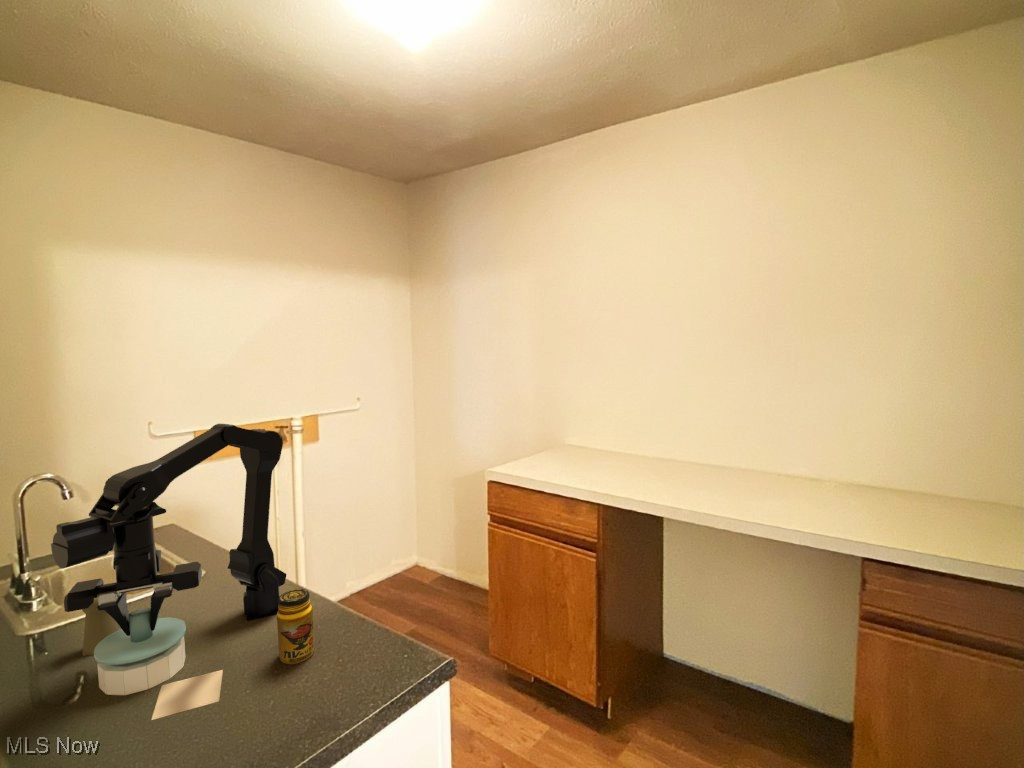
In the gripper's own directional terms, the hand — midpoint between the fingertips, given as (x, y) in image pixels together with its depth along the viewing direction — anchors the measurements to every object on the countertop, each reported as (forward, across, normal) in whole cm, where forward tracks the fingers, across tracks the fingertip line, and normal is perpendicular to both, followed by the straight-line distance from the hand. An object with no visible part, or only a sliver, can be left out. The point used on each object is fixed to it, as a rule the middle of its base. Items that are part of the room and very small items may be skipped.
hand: (141, 632), depth 90 cm
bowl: (+8, 0, 0) cm, 8 cm away
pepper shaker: (+8, +9, -14) cm, 18 cm away
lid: (+2, 0, 0) cm, 2 cm away
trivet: (+8, -8, +10) cm, 15 cm away
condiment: (+8, -24, +6) cm, 26 cm away
